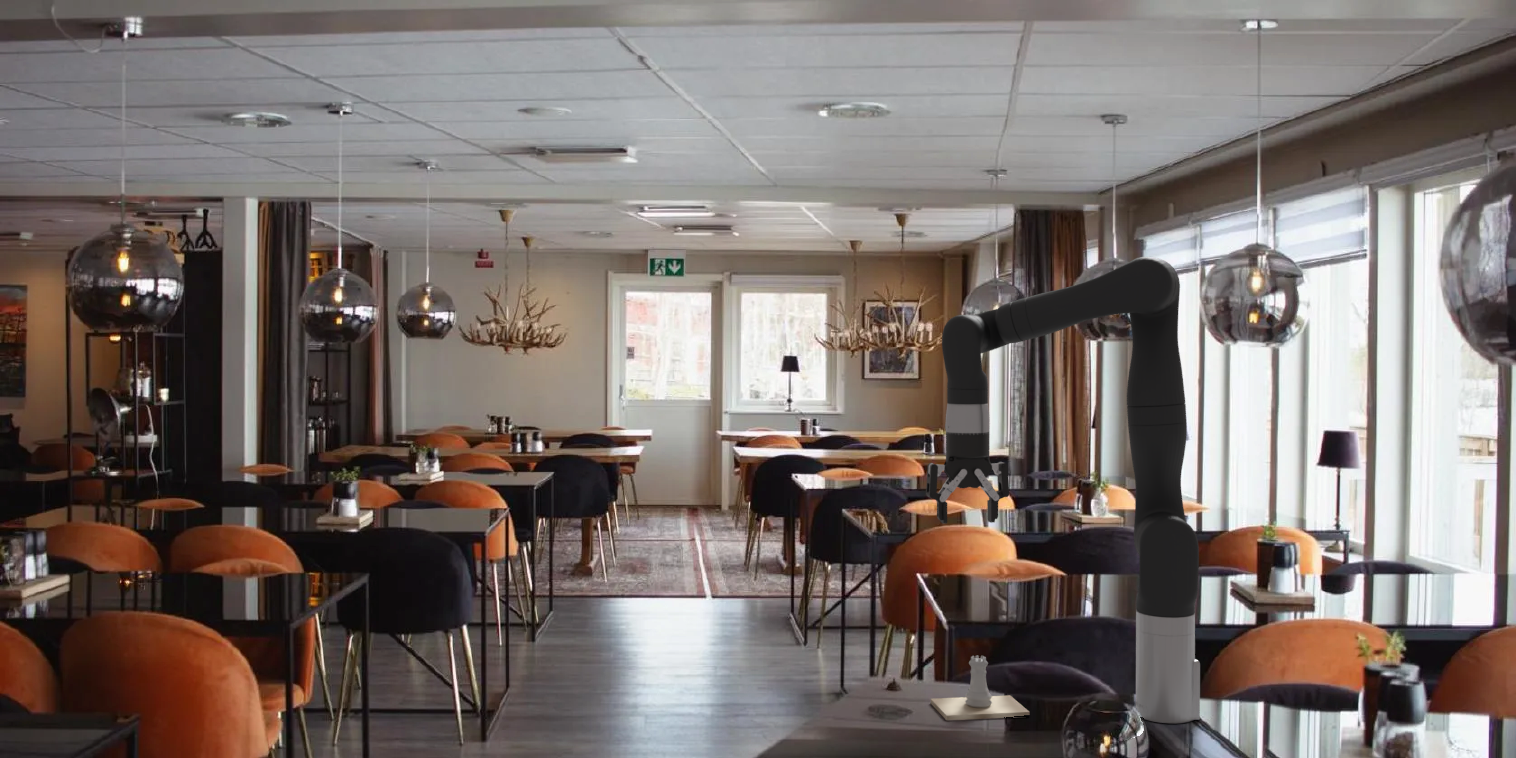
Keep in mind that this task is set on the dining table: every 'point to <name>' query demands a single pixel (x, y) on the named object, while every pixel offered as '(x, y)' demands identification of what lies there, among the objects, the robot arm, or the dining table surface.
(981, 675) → the rook chess piece
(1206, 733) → the dining table surface
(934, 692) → the dining table surface
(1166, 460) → the robot arm
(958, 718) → the birch placemat
